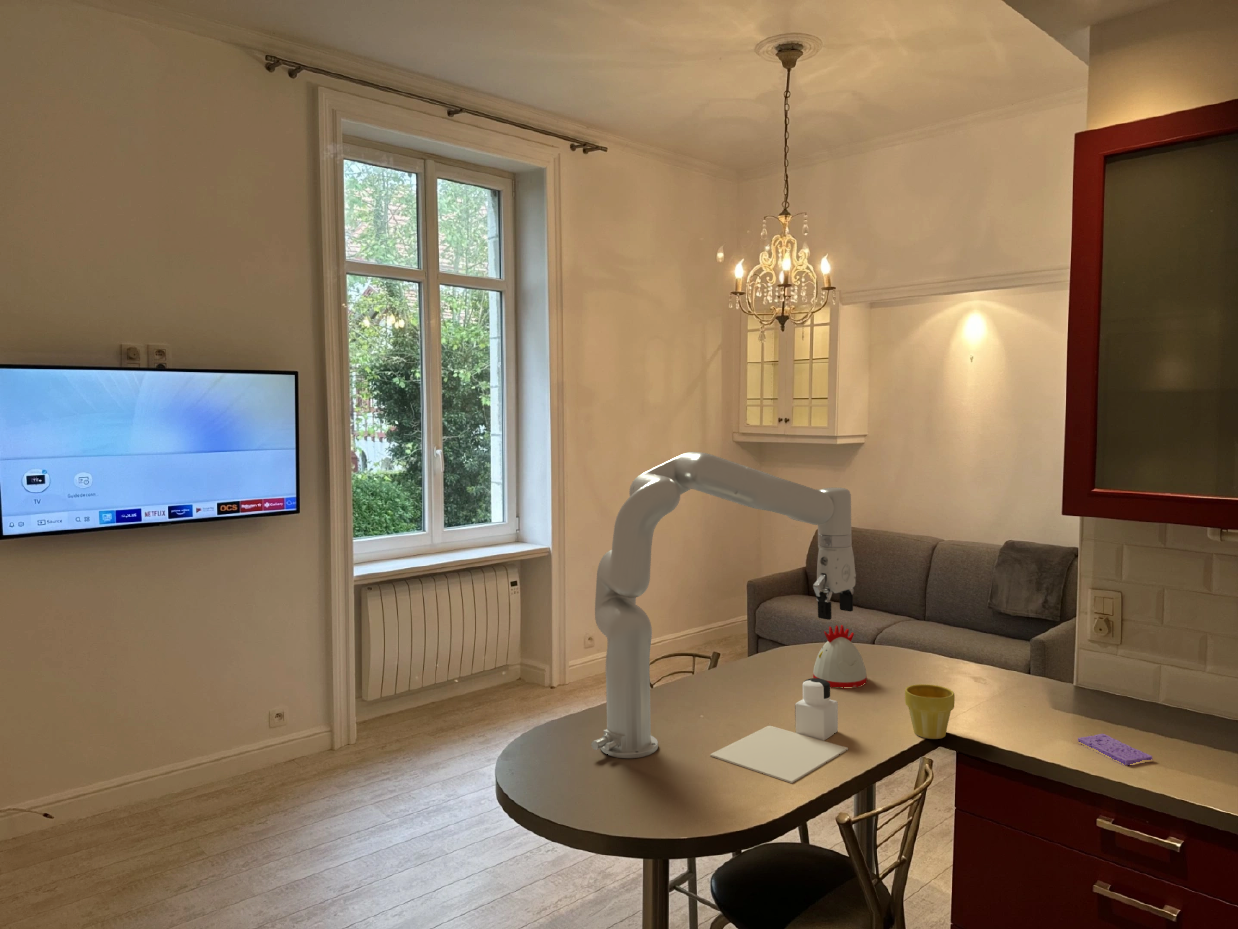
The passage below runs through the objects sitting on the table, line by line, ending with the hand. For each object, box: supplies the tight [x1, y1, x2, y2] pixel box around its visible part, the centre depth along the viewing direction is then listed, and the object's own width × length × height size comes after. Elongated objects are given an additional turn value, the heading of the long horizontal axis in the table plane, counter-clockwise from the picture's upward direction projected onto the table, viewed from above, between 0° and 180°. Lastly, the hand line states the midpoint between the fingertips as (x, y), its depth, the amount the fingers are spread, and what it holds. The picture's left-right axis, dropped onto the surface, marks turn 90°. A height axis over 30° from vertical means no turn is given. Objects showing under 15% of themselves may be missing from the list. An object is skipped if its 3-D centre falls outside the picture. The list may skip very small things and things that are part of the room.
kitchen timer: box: [812, 624, 868, 689], centre depth 227 cm, size 14×14×15 cm
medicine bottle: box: [794, 677, 839, 741], centre depth 190 cm, size 7×7×12 cm
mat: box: [709, 725, 849, 784], centre depth 180 cm, size 22×20×1 cm
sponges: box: [1077, 733, 1154, 766], centre depth 177 cm, size 7×13×2 cm, turn 15°
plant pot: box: [904, 683, 955, 740], centre depth 188 cm, size 10×10×10 cm
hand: (835, 614), depth 196 cm, fingers open, 9 cm apart
